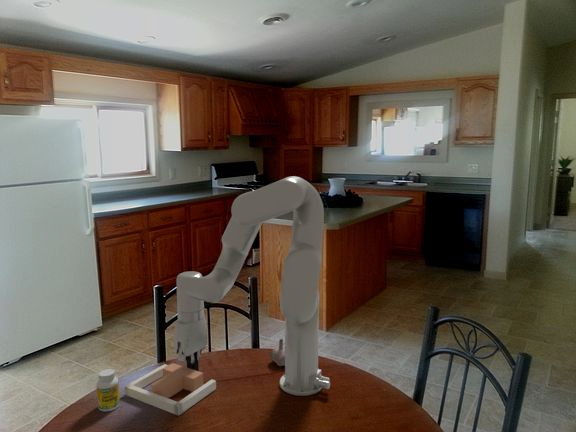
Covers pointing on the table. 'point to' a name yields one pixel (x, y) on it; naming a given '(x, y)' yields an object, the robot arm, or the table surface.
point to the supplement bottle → (108, 390)
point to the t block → (177, 380)
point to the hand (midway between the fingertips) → (192, 373)
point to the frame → (161, 402)
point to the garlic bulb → (278, 354)
